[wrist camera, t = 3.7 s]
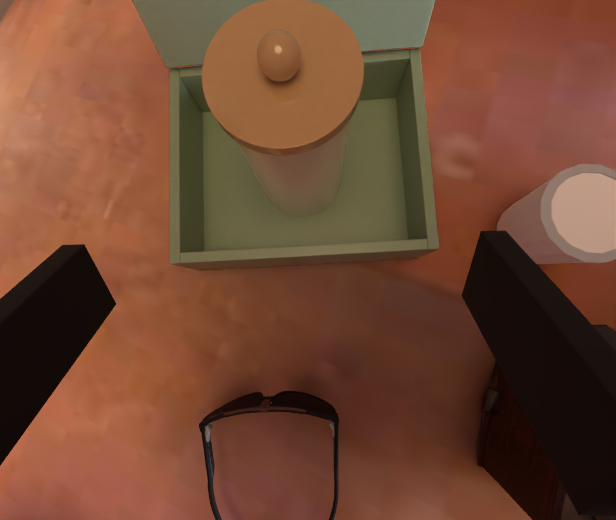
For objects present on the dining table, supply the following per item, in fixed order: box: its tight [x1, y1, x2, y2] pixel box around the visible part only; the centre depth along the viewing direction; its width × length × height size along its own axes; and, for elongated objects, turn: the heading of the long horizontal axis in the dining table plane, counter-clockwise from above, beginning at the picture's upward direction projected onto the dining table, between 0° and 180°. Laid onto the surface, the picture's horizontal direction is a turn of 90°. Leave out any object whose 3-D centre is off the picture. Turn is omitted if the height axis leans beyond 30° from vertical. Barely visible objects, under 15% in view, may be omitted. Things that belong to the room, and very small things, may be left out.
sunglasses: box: [199, 391, 339, 520], centre depth 26 cm, size 10×12×5 cm
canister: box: [202, 0, 364, 217], centre depth 22 cm, size 8×8×16 cm
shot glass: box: [497, 164, 616, 264], centre depth 25 cm, size 7×7×7 cm
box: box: [170, 48, 439, 270], centre depth 27 cm, size 16×20×6 cm
